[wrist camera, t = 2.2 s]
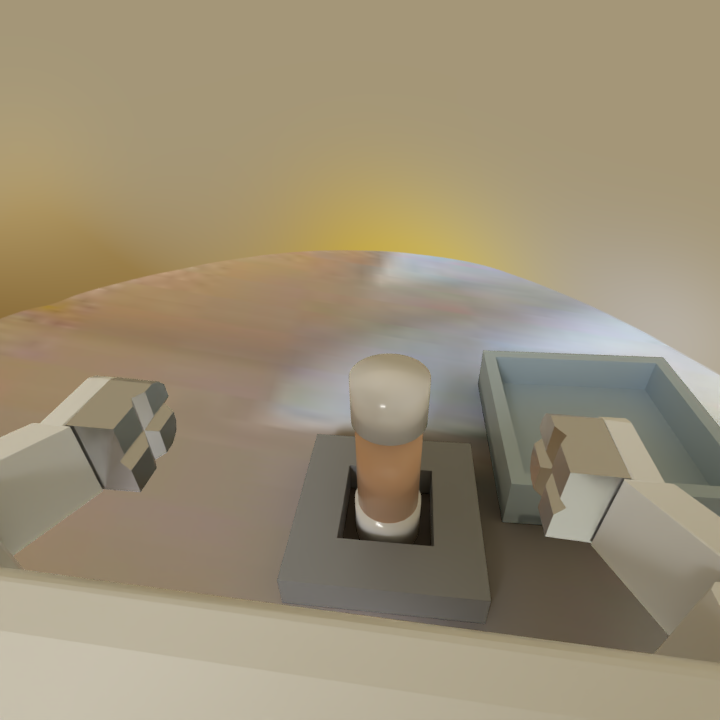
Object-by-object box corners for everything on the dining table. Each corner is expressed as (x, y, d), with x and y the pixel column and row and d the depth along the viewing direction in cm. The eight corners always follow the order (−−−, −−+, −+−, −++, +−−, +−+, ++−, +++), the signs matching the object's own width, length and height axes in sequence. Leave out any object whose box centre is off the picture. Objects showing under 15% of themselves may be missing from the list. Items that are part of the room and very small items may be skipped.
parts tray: (648, 391, 42) (663, 357, 40) (750, 541, 29) (781, 502, 27) (477, 384, 44) (483, 350, 42) (502, 521, 31) (511, 483, 29)
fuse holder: (467, 465, 35) (470, 443, 34) (485, 623, 25) (491, 601, 24) (319, 456, 37) (317, 434, 35) (282, 602, 27) (277, 580, 25)
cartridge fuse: (419, 501, 33) (430, 355, 25) (418, 556, 29) (431, 404, 22) (360, 497, 33) (354, 352, 26) (352, 550, 29) (343, 400, 22)
